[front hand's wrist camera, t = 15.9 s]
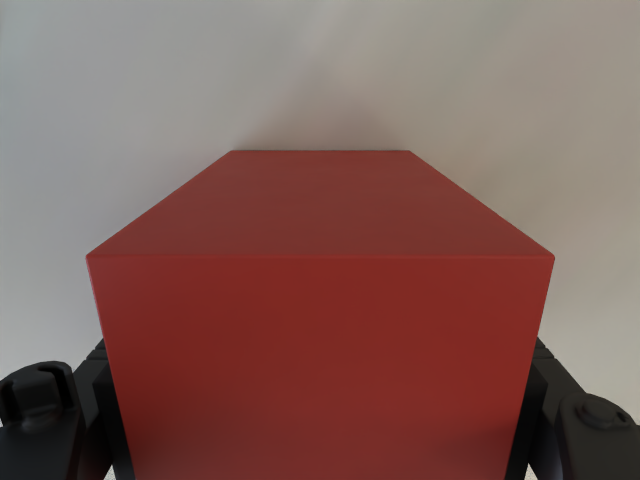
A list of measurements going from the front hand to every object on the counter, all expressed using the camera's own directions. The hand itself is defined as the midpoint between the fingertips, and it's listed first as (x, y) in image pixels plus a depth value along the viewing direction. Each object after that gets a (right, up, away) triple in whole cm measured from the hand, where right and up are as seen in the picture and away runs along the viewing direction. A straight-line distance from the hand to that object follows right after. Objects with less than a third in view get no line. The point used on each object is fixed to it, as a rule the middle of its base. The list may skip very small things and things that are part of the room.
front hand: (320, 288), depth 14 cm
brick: (0, +1, +4) cm, 4 cm away
